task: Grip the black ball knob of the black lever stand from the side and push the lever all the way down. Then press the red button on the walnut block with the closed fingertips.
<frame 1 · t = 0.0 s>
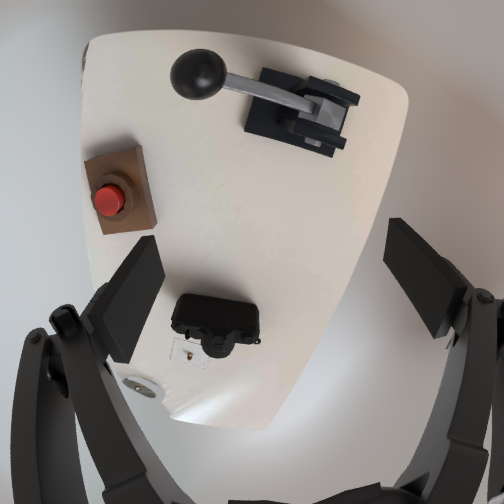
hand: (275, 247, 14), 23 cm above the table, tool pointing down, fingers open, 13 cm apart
cancel button: (109, 200, 33), point 4 cm above the table, slide at 0.1 cm
film camera: (218, 315, 48), on the table
cancel block: (122, 190, 36), on the table
switch lever: (267, 92, 17), point 16 cm above the table, hinge at 30.0°
black lever stand: (298, 111, 31), on the table
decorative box: (190, 353, 54), on the table
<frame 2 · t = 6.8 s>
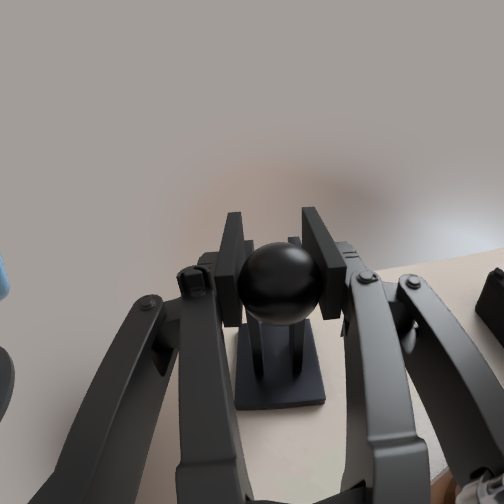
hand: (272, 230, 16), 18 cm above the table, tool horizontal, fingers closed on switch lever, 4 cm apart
cancel block: (462, 497, 9), on the table
switch lever: (275, 274, 17), point 16 cm above the table, hinge at 30.0°, touching gripper
black lever stand: (277, 364, 29), on the table
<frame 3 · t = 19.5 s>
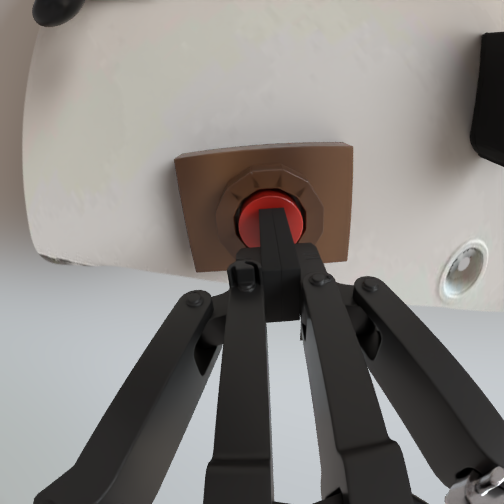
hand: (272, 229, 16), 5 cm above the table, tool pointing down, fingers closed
cancel button: (270, 221, 17), point 4 cm above the table, slide at -0.7 cm, touching gripper
film camera: (500, 101, 14), on the table
cancel block: (267, 202, 21), on the table
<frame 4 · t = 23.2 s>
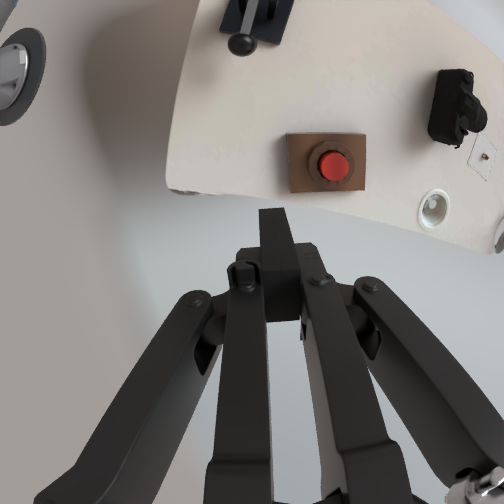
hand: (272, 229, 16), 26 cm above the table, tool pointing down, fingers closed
cancel button: (333, 166, 35), point 5 cm above the table, slide at 0.1 cm
film camera: (449, 108, 33), on the table
cancel block: (325, 160, 39), on the table
switch lever: (251, 8, 21), point 10 cm above the table, hinge at -34.7°
black lever stand: (260, 7, 27), on the table
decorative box: (482, 156, 36), on the table
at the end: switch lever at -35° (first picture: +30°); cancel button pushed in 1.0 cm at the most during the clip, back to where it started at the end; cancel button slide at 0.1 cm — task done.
